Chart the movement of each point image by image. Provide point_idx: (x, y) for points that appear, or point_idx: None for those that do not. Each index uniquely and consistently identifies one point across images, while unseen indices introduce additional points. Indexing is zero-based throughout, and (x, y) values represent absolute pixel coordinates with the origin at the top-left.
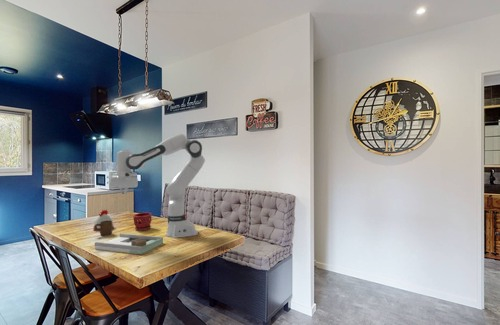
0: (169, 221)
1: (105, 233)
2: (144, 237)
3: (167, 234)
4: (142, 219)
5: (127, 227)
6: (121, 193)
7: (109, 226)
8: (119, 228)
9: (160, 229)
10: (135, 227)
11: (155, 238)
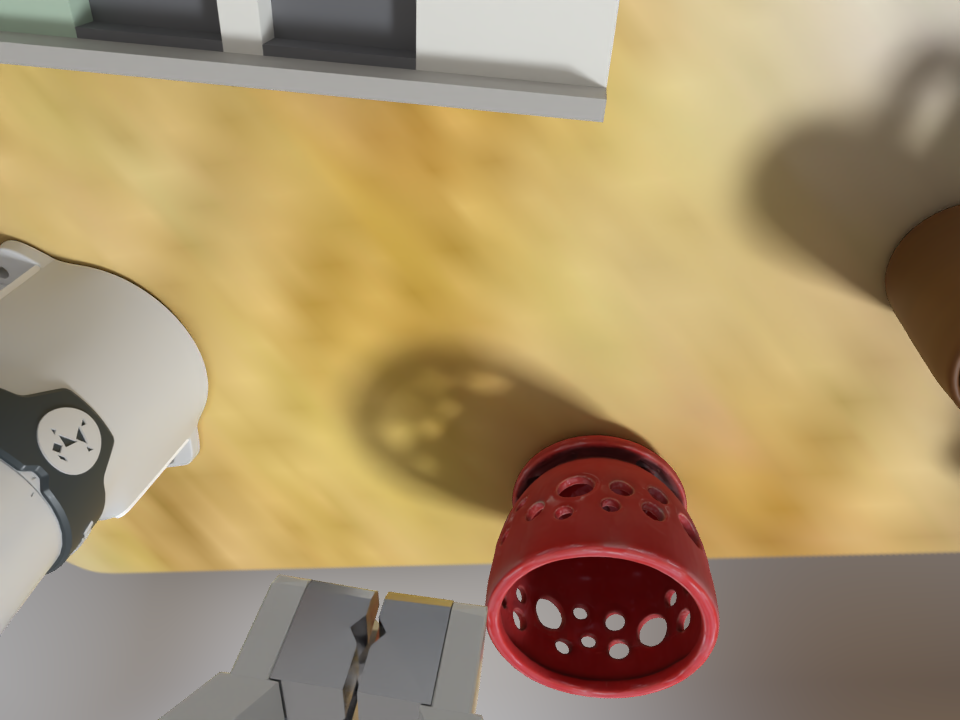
0: (19, 393)
1: (947, 220)
2: (173, 52)
3: (127, 296)
4: (536, 522)
5: (832, 532)
6: (461, 617)
7: (934, 303)
8: (916, 496)
9: (397, 488)
10: (671, 480)
11: (6, 37)
